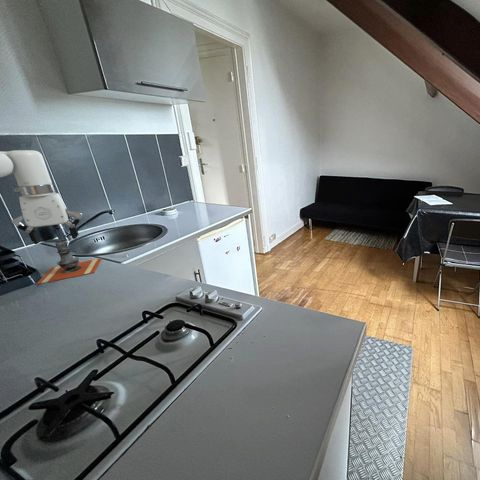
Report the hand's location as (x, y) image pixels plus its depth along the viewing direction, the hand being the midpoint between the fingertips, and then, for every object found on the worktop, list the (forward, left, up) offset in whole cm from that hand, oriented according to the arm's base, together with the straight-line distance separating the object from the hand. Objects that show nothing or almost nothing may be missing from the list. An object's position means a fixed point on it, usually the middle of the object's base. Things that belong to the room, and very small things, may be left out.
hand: (57, 240), depth 90 cm
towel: (+1, 0, -12) cm, 12 cm away
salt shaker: (+1, 0, -12) cm, 12 cm away
